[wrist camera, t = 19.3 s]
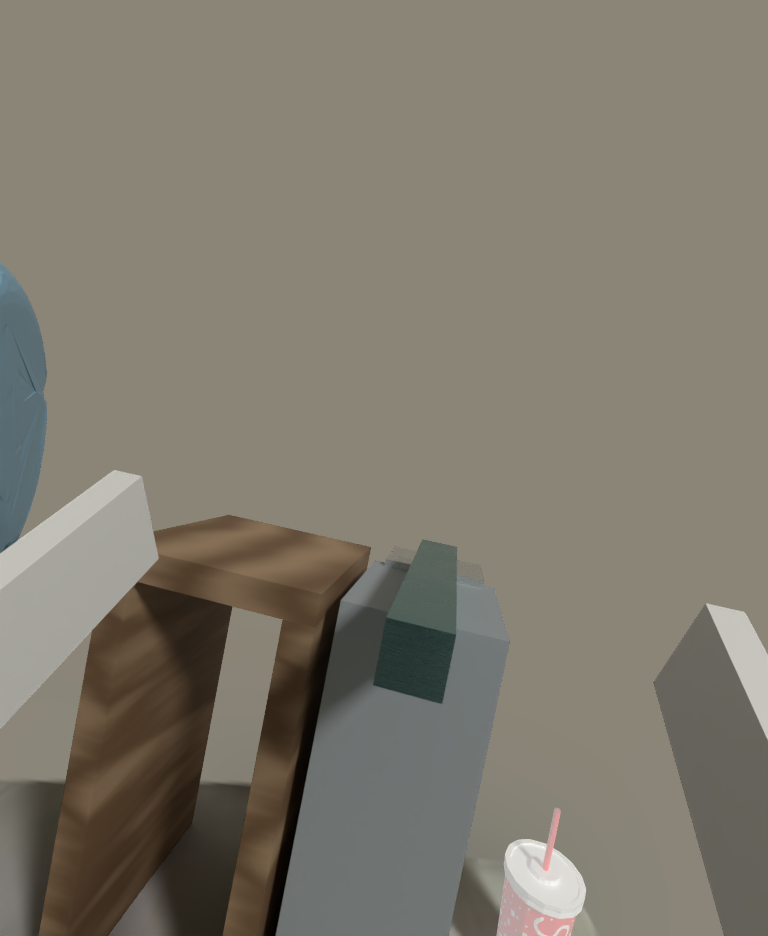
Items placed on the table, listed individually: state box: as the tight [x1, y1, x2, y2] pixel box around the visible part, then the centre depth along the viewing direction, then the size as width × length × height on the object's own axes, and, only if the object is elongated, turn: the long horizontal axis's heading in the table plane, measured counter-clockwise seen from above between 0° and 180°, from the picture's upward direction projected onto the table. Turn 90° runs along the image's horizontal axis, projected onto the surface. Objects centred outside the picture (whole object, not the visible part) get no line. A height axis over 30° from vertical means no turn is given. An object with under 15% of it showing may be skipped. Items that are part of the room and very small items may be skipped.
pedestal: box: [276, 561, 510, 936], centre depth 34 cm, size 11×13×30 cm
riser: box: [39, 515, 371, 936], centre depth 37 cm, size 14×16×30 cm
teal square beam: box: [373, 540, 484, 704], centre depth 32 cm, size 8×26×3 cm, turn 171°
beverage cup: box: [497, 808, 586, 936], centre depth 38 cm, size 6×6×14 cm
